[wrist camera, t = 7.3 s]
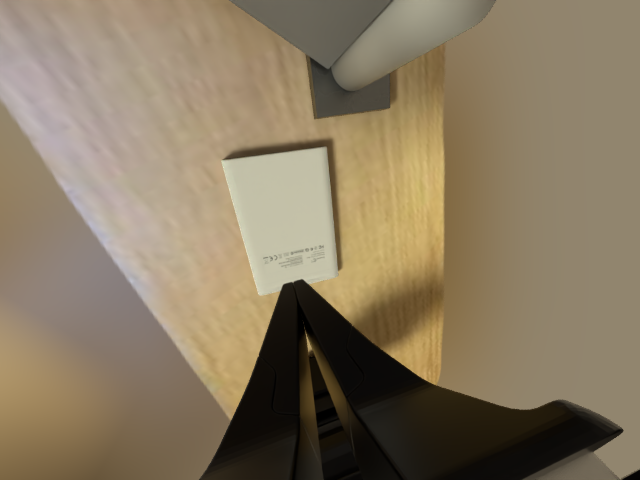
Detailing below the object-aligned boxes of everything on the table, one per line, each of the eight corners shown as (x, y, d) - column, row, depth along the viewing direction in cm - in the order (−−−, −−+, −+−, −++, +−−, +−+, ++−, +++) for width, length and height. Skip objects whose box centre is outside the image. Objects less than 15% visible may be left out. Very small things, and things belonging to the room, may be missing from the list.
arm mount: (383, 109, 19) (389, 108, 18) (314, 119, 18) (317, 117, 17) (382, 15, 16) (389, 8, 16) (301, 20, 15) (304, 12, 15)
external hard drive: (322, 146, 19) (334, 269, 24) (223, 159, 18) (258, 287, 23) (327, 146, 18) (339, 277, 23) (219, 160, 16) (258, 297, 22)
